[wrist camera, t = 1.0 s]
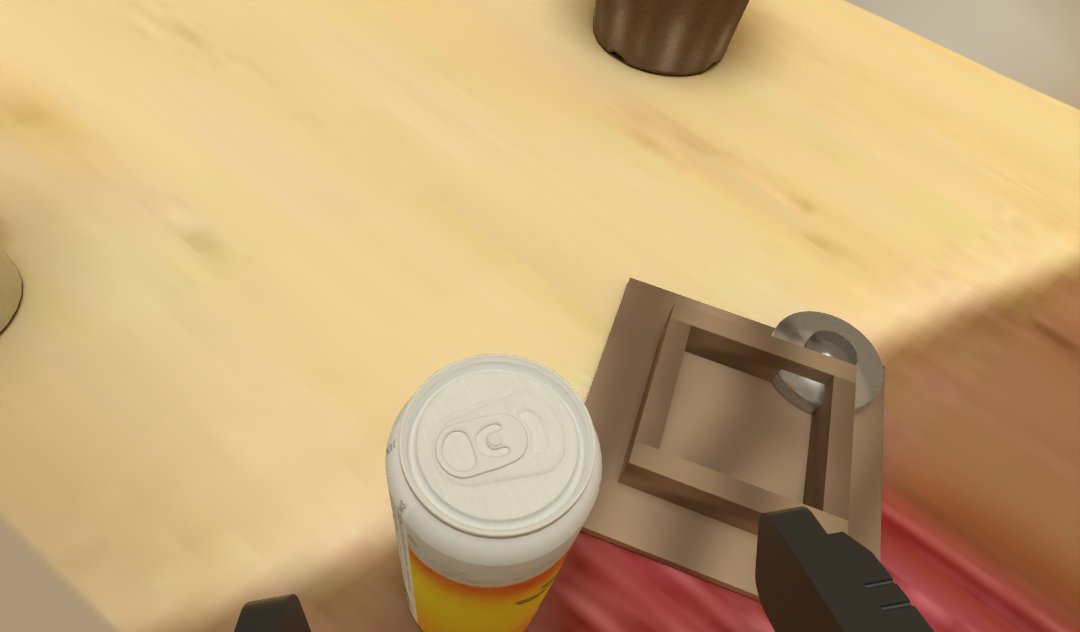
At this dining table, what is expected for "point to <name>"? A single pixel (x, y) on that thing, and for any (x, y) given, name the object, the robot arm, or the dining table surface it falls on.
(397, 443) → the beer can
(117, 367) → the dining table surface
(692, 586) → the dining table surface
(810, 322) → the ring nut
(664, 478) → the socket board
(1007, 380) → the dining table surface
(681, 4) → the plant pot
